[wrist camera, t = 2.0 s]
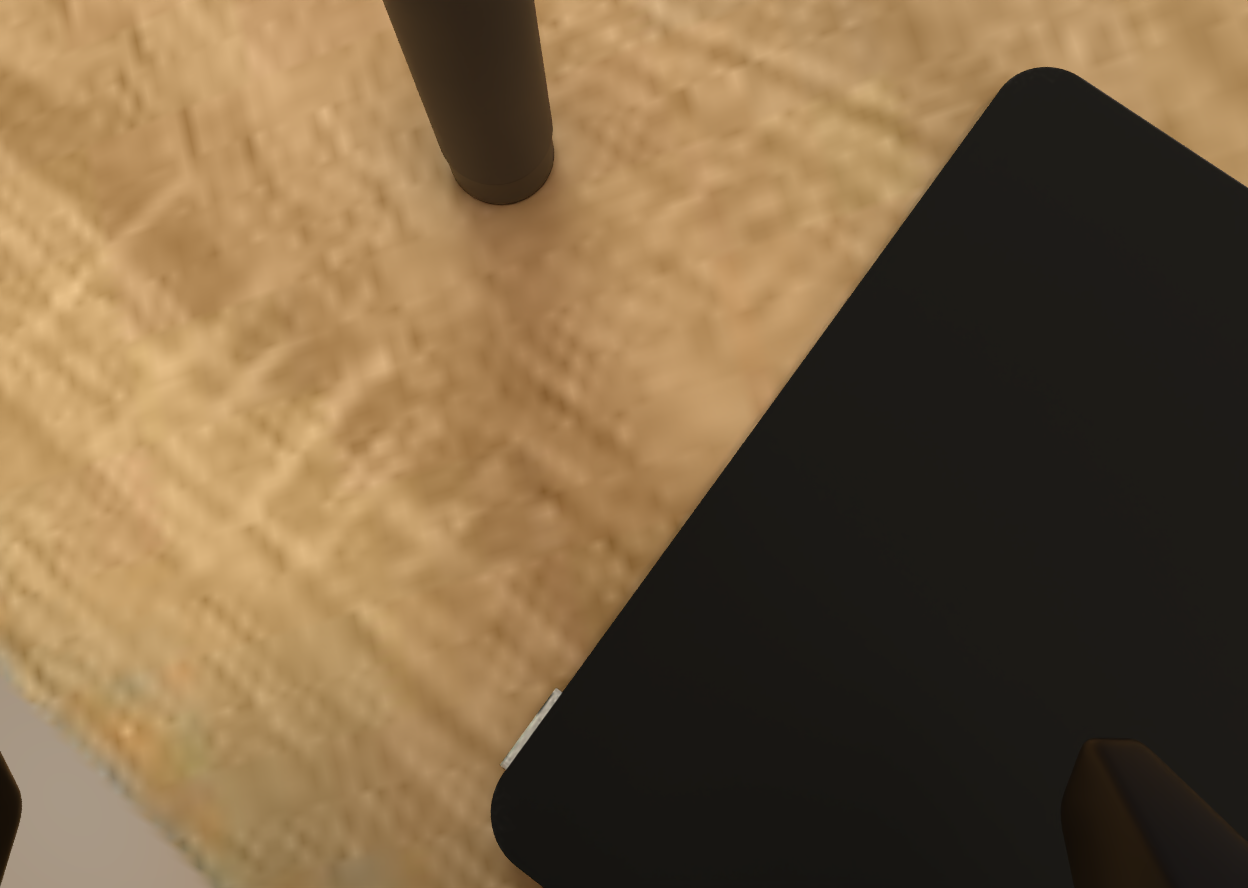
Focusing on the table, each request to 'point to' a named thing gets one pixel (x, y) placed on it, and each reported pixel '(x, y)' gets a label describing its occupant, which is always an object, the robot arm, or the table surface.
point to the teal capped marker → (481, 90)
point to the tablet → (943, 549)
